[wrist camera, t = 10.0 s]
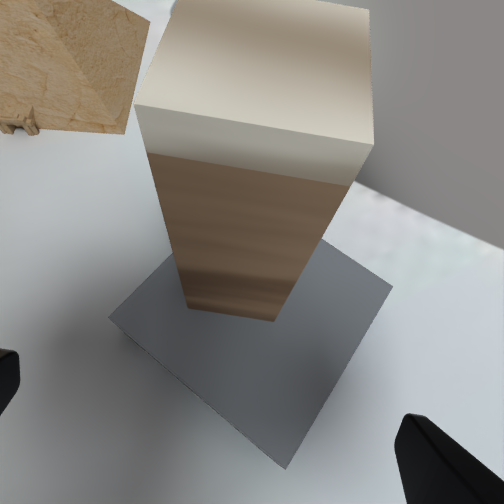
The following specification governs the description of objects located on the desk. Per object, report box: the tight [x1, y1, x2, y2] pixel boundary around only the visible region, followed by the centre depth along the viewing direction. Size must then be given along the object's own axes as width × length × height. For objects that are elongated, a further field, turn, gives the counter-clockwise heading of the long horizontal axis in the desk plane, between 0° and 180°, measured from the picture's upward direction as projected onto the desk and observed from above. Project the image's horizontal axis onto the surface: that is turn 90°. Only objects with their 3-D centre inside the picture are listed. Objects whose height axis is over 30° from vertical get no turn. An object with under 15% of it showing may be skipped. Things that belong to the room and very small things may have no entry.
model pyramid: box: [0, 0, 150, 136], centre depth 27 cm, size 17×17×10 cm
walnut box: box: [133, 0, 374, 322], centre depth 14 cm, size 5×5×14 cm
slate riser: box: [108, 239, 393, 470], centre depth 21 cm, size 12×12×3 cm
